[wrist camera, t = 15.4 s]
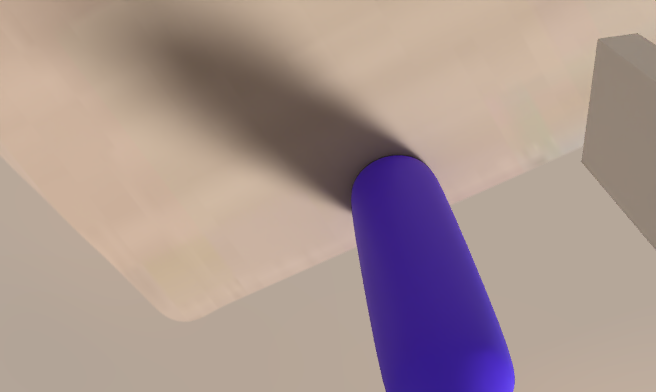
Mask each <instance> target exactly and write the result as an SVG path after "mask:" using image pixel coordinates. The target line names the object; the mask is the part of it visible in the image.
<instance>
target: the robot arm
mask: <svg viewBox="0 0 656 392" xmlns="http://www.w3.org/2000/svg"><path fill="white" fill-rule="evenodd" d="M582 163H583V164H584V166H585V167H586V168H587V169H588V170H589V171H590V173H591V174H592V175H593V176H594V177H595V179H597V181H598V182H599V183H600V185H601V186H602V187H603V188H604V189H605V190H606V192H607V193H608V194H609V195H610V196H611V197H612V199H613V200H614V201H615V202H616V204H617V205H618V206H619V207H620V208H621V209H622V211H623V212H624V213H625V214H626V215H627V217H628V218H629V219H630V220H631V221H632V222H633V223H634V225H635V226H636V227H637V228H638V230H639V231H640V232H641V233H642V234H643V236H644V237H645V238H646V239H647V240H648V241H649V243H650V244H651V245H652V246H653V247H654V248H655V250H656V45H655V44H653V43H652V42H650V41H649V40H647V39H646V38H644V37H642V36H641V35H639V34H638V33H637V34H629V35H622V36H615V37H608V38H600V39H598V42H597V49H596V57H595V64H594V72H593V79H592V87H591V94H590V102H589V109H588V117H587V124H586V132H585V139H584V147H583V154H582Z"/></svg>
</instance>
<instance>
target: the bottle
mask: <svg viewBox="0 0 656 392" xmlns="http://www.w3.org/2000/svg"><path fill="white" fill-rule="evenodd" d="M351 206H352V215H353V223H354V230H355V236H356V243H357V249H358V255H359V260H360V267H361V273H362V278H363V284H364V289H365V295H366V300H367V306H368V312H369V316H370V322H371V327H372V332H373V337H374V342H375V347H376V352H377V357H378V361H379V366H380V370H381V374H382V379H383V383H384V386H385V389H386V392H513V389H514V384H515V376H514V369H513V364H512V361H511V357H510V354H509V351H508V347H507V344H506V342H505V339H504V336H503V334H502V331H501V328H500V325H499V322H498V320H497V318H496V315H495V312H494V310H493V307H492V305H491V302H490V300H489V297H488V295H487V292H486V290H485V288H484V285H483V283H482V280H481V278H480V275H479V273H478V270H477V268H476V266H475V263H474V261H473V258H472V256H471V254H470V251H469V249H468V246H467V244H466V242H465V240H464V237H463V235H462V233H461V230H460V228H459V226H458V223H457V221H456V219H455V217H454V214H453V212H452V210H451V208H450V205H449V203H448V201H447V199H446V196H445V194H444V192H443V190H442V188H441V186H440V184H439V182H438V180H437V178H436V177H435V175H434V174H433V172H432V171H431V170H430V168H429V167H428V166H427V165H425V164H424V163H423V162H421V161H420V160H418V159H415V158H413V157H409V156H403V155H394V156H387V157H383V158H380V159H378V160H376V161H374V162H372V163H371V164H369V165H368V166H367V167H365V168H364V169H363V170H362V171H361V172H360V174H359V175H358V176H357V178H356V180H355V182H354V184H353V188H352V195H351Z"/></svg>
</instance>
